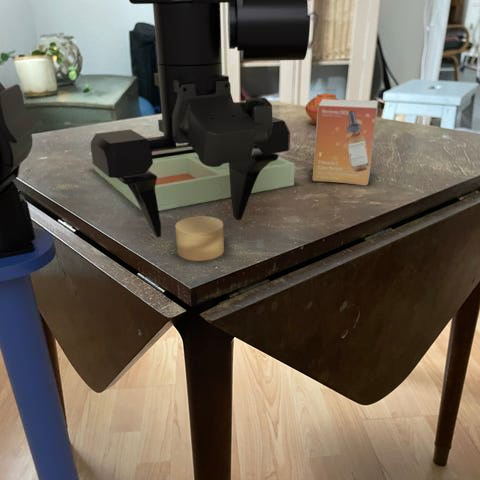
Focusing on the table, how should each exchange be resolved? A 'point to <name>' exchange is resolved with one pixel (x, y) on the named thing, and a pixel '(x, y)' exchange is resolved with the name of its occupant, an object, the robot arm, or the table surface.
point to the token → (200, 238)
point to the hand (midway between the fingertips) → (198, 227)
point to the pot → (313, 105)
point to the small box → (344, 141)
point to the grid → (201, 180)
